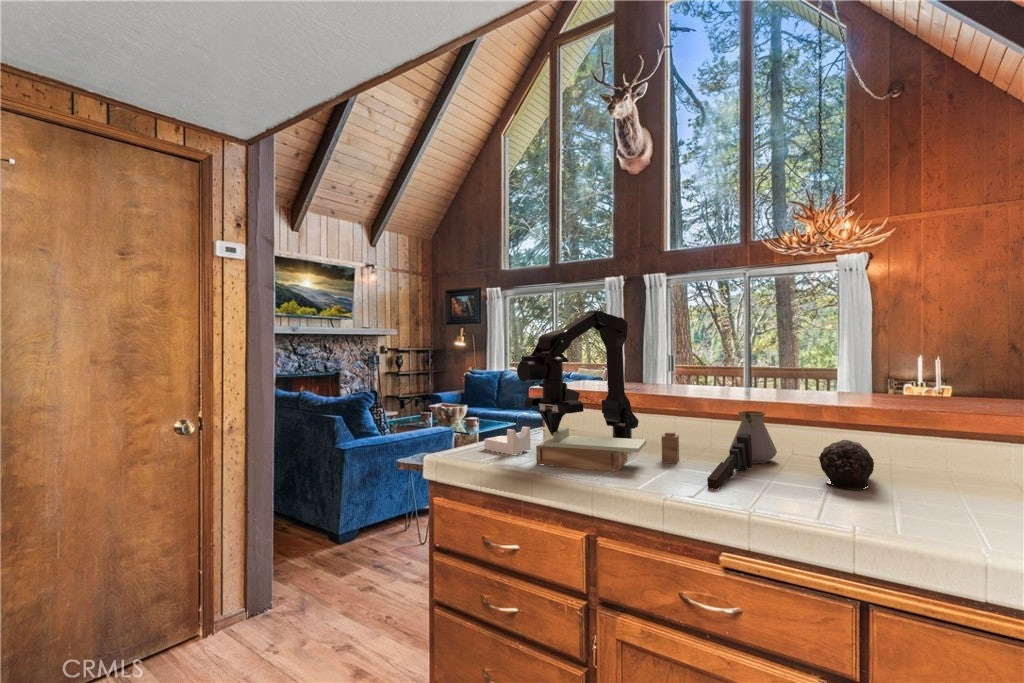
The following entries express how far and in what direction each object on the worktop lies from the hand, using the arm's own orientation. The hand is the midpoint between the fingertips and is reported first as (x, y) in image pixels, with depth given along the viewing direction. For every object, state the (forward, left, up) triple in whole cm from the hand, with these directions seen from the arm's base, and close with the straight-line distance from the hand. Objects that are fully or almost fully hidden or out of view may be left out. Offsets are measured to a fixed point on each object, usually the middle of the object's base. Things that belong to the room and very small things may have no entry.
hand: (553, 435), depth 146 cm
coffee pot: (-12, +50, -7) cm, 52 cm away
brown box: (0, +8, -7) cm, 11 cm away
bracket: (-8, -18, -8) cm, 21 cm away
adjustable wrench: (+3, +45, -8) cm, 46 cm away
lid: (0, +12, -2) cm, 12 cm away
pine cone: (-1, +69, -7) cm, 70 cm away
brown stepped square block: (-9, +30, -7) cm, 32 cm away
